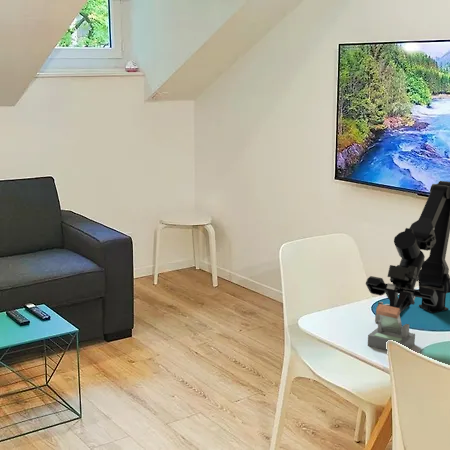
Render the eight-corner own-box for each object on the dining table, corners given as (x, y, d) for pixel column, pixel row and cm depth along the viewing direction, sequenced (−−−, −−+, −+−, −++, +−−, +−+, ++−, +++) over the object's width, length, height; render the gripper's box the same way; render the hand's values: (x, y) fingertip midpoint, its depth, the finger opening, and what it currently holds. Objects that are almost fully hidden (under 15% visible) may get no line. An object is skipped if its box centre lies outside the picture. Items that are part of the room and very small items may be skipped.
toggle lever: (384, 325, 195) (379, 304, 189) (404, 329, 191) (399, 308, 186) (381, 331, 193) (376, 310, 188) (401, 336, 190) (396, 314, 185)
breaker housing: (379, 336, 199) (380, 315, 197) (414, 344, 193) (415, 323, 192) (367, 345, 192) (368, 324, 191) (403, 354, 187) (404, 332, 185)
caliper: (378, 324, 208) (379, 304, 206) (374, 323, 209) (375, 303, 207) (409, 305, 223) (410, 286, 222) (405, 304, 224) (407, 285, 223)
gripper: (370, 247, 196) (351, 297, 189) (437, 258, 185) (419, 311, 179) (379, 268, 204) (362, 316, 198) (445, 280, 194) (428, 331, 187)
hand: (391, 318), depth 190 cm, fingers closed, pressing on toggle lever
